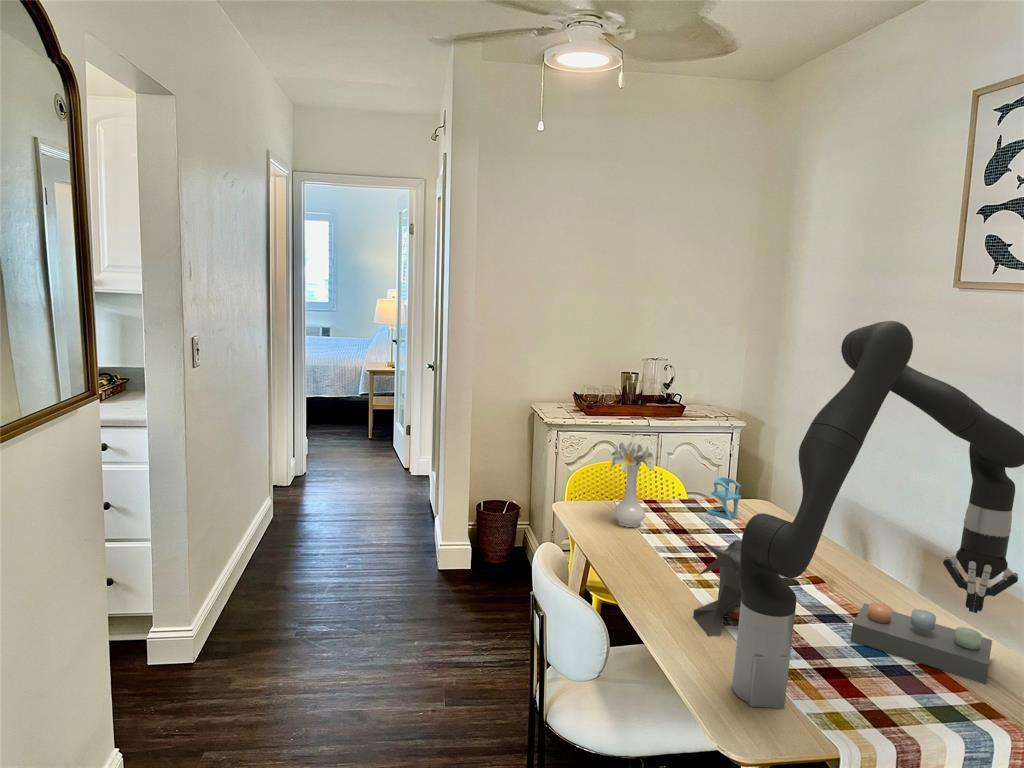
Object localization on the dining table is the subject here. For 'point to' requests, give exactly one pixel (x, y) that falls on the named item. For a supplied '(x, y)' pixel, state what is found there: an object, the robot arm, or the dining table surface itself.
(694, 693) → the dining table surface
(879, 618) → the terracotta button
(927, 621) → the slate button
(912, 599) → the dining table surface
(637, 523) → the flower vase
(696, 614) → the grey finned figurine
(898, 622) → the console
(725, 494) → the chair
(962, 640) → the sage button
